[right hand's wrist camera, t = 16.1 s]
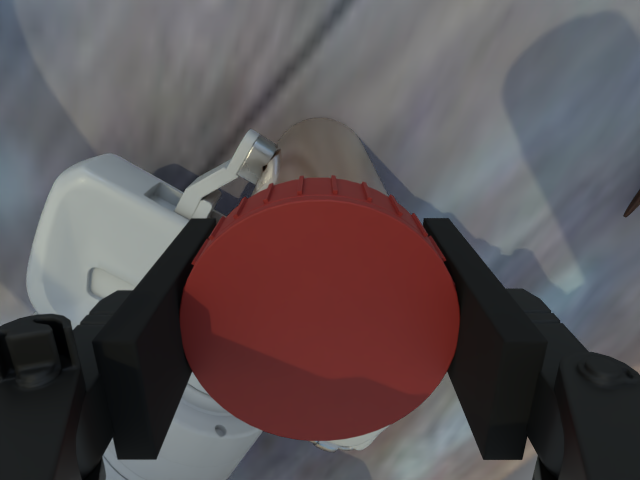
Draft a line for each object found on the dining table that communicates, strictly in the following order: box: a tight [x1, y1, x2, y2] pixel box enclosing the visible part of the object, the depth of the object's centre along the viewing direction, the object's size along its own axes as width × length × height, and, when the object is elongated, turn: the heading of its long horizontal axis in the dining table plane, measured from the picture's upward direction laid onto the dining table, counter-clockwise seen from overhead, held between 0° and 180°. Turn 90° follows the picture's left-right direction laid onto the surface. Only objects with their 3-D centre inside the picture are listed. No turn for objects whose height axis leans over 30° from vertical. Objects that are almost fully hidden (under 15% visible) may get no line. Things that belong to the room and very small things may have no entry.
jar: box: [251, 118, 389, 197], centre depth 19 cm, size 6×6×17 cm
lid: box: [179, 175, 460, 441], centre depth 11 cm, size 6×7×2 cm
